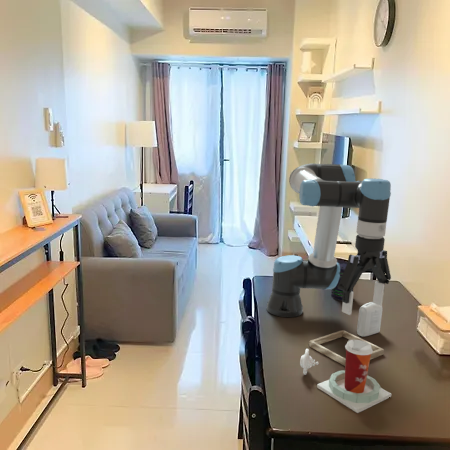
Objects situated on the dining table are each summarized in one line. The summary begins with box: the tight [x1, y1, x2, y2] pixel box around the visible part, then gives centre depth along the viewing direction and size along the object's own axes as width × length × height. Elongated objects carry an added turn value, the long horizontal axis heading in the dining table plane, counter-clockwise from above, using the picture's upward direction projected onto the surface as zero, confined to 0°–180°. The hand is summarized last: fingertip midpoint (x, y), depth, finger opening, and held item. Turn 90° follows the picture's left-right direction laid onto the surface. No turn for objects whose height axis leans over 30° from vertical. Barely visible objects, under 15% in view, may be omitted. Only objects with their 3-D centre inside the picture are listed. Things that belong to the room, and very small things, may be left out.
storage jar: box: [330, 262, 354, 302], centre depth 213 cm, size 10×10×15 cm
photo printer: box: [356, 301, 384, 337], centre depth 175 cm, size 10×4×12 cm, turn 123°
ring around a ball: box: [299, 348, 319, 376], centre depth 144 cm, size 8×6×8 cm
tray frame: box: [308, 329, 385, 367], centre depth 161 cm, size 18×18×2 cm
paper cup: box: [344, 339, 373, 393], centre depth 134 cm, size 8×8×14 cm
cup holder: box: [316, 369, 392, 414], centre depth 135 cm, size 15×15×3 cm
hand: (362, 308), depth 130 cm, fingers open, 13 cm apart
